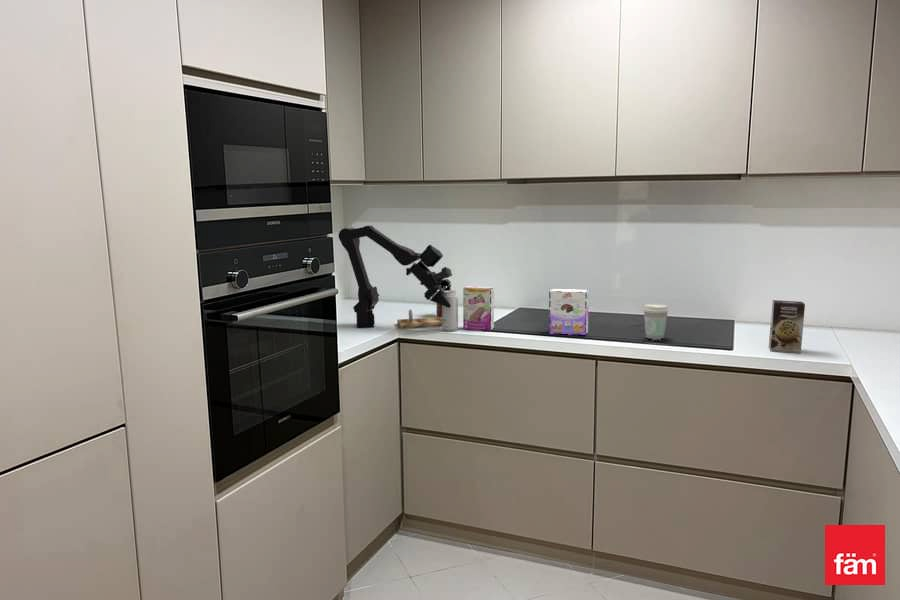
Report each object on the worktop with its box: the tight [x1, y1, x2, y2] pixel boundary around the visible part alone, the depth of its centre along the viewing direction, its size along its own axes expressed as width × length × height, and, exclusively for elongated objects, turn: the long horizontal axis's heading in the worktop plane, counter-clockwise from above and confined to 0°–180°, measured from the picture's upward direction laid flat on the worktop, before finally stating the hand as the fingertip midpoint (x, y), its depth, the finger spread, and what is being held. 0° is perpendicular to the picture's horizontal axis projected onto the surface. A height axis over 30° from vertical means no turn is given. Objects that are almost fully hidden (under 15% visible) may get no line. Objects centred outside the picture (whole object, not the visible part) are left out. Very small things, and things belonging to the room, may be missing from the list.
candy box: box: [548, 288, 590, 336], centre depth 243 cm, size 14×6×16 cm, turn 70°
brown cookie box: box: [768, 299, 806, 354], centre depth 215 cm, size 9×6×16 cm
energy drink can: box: [441, 290, 459, 333], centre depth 251 cm, size 6×6×15 cm
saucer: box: [408, 308, 414, 323], centre depth 260 cm, size 1×6×6 cm, turn 12°
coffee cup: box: [642, 303, 669, 339], centre depth 233 cm, size 8×8×12 cm
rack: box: [396, 317, 442, 330], centre depth 262 cm, size 18×9×2 cm, turn 102°
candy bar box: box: [462, 285, 495, 332], centre depth 252 cm, size 11×5×16 cm, turn 72°
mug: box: [435, 303, 442, 318], centre depth 276 cm, size 12×9×10 cm
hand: (453, 305), depth 250 cm, fingers open, 9 cm apart
